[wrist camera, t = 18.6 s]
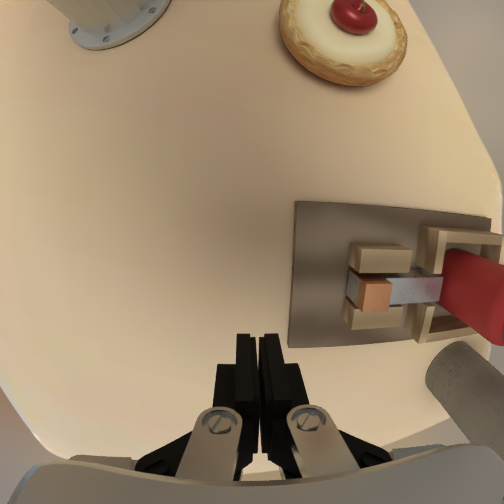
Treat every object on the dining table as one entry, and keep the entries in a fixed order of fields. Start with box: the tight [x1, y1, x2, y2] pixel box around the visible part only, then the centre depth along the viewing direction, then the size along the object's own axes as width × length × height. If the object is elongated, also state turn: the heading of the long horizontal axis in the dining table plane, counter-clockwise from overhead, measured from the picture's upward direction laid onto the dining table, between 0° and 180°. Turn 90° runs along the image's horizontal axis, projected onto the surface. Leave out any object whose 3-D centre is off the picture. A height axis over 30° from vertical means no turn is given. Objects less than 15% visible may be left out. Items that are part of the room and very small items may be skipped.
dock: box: [287, 201, 504, 348], centre depth 25 cm, size 14×24×4 cm, turn 89°
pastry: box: [279, 0, 407, 86], centre depth 18 cm, size 12×12×9 cm
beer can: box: [436, 249, 504, 346], centre depth 20 cm, size 7×7×12 cm
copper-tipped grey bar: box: [346, 269, 443, 313], centre depth 23 cm, size 2×9×4 cm, turn 89°
